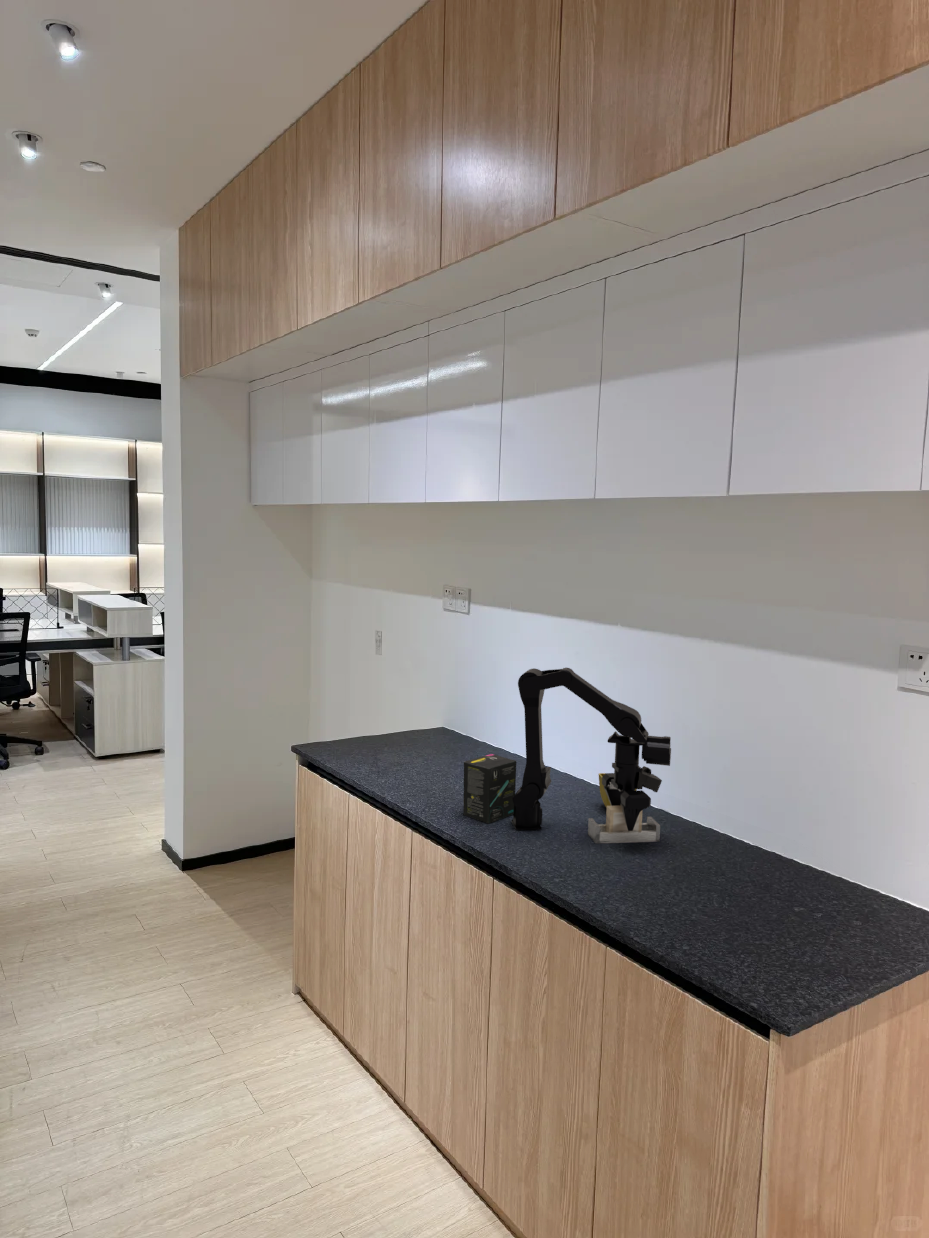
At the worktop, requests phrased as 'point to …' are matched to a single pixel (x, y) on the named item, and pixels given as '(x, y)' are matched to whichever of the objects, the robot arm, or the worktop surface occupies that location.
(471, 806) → the tampon box
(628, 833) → the bottom track
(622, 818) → the door panel
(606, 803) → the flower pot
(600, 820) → the worktop surface
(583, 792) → the worktop surface
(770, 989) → the worktop surface
